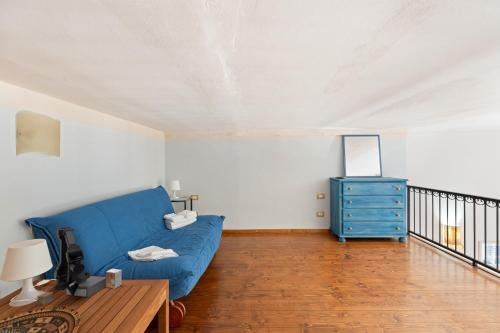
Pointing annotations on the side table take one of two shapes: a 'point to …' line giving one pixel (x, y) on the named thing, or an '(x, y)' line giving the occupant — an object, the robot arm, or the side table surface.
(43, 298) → the pedestal
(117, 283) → the small box
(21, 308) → the side table surface
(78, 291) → the tray
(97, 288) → the housing
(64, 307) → the side table surface
